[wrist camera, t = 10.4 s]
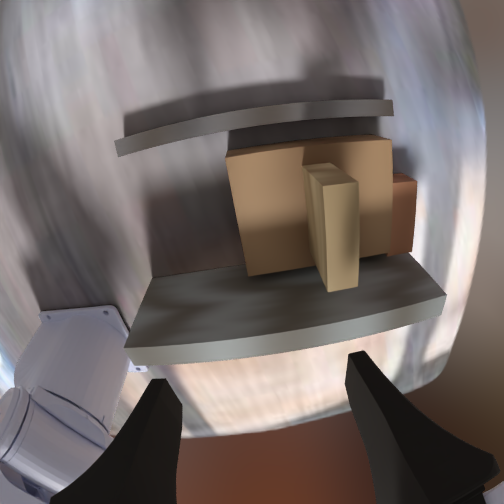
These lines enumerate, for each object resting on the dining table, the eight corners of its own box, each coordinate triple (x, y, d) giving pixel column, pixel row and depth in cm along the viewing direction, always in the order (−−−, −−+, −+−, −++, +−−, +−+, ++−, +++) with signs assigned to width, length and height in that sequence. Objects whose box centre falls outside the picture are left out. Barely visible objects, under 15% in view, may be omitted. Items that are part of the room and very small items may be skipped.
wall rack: (158, 294, 21) (134, 365, 15) (110, 142, 15) (45, 167, 9) (397, 256, 20) (444, 313, 14) (398, 100, 15) (470, 106, 8)
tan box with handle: (247, 252, 20) (250, 321, 14) (227, 150, 16) (219, 175, 10) (372, 232, 19) (420, 288, 13) (369, 134, 16) (433, 153, 10)
